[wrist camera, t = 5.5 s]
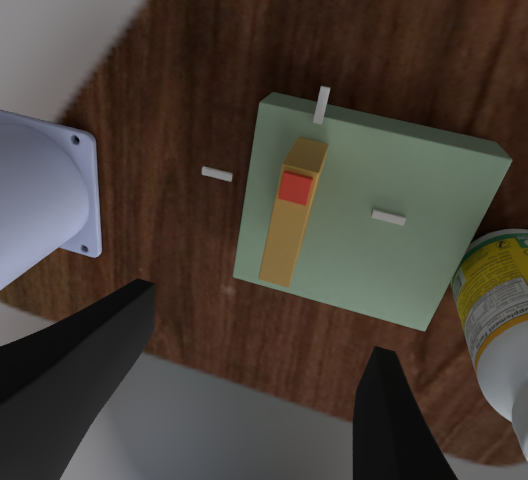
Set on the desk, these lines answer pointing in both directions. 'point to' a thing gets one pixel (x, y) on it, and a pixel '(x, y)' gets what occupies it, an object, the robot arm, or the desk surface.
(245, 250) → the lock plate
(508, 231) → the supplement bottle
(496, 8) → the desk surface
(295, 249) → the block
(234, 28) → the desk surface
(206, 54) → the desk surface
